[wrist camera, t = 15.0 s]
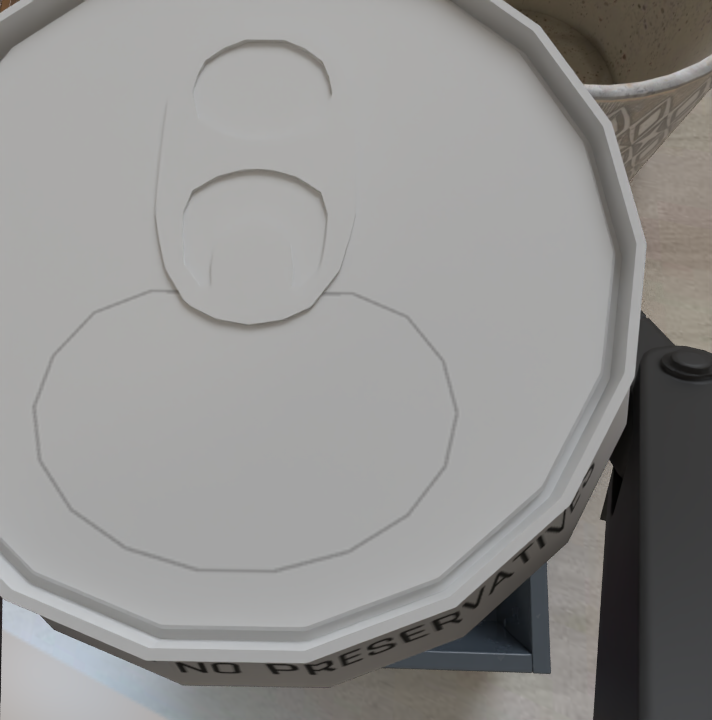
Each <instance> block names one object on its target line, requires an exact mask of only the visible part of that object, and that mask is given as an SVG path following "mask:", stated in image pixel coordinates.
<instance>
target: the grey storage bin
mask: <svg viewBox="0 0 712 720" xmlns="http://www.w3.org/2000/svg"><path fill="white" fill-rule="evenodd" d="M382 668H397V669H427V670H457V671H487V672H516V673H532V672H533V673H539V674H551V663H550V637H549V611H548V585H547V562H546V563H544V564H543V565H542V566H541V567H540V568H539V569H538V570H537V571H536V572H534V573H533V574H532V575H531V576H530V577H529V578H528V579H527V580H526V581H525V582H523V583H522V584H521V585H520V586H519V587H518V588H517V589H516V590H515V591H514V592H512V593H511V594H510V595H509V596H508V597H507V598H506V599H505V600H504V601H502V602H501V603H500V604H499V605H498V606H497V607H496V608H495V609H494V610H493V611H491V612H490V613H489V614H488V615H487V616H486V617H485V618H484V619H483V620H481V621H480V622H479V623H478V624H477V625H476V626H475V627H474V628H473V629H472V630H470V631H469V632H468V633H467V634H466V635H465V636H464V637H461V638H459V639H456V640H454V641H451V642H448V643H446V644H443V645H440V646H438V647H435V648H432V649H430V650H427V651H424V652H422V653H419V654H417V655H414V656H411V657H409V658H406V659H403V660H401V661H398V662H395V663H393V664H390V665H387V666H385V667H382Z"/></svg>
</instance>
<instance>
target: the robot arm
mask: <svg viewBox="0 0 712 720" xmlns="http://www.w3.org/2000/svg"><path fill="white" fill-rule="evenodd" d="M609 460H610V461H611V463H612V465H613V470H612V474H611V478H610V482H609V486H608V490H607V494H606V498H605V502H604V506H603V510H602V514H601V518H600V520H605V521H606V530H605V546H604V561H603V577H602V592H601V608H600V623H599V638H598V654H597V669H596V685H595V700H594V716H593V720H712V353H709V352H707V351H705V350H700V349H696V348H692V347H687V346H675V345H674V344H673V343H672V342H671V341H670V340H669V339H668V338H667V337H666V336H665V335H664V333H663V332H662V331H661V330H660V329H659V328H658V327H657V326H656V325H655V324H654V323H653V322H652V321H651V320H650V319H649V318H646V315H645V314H644V313H643V312H642V311H641V313H640V324H639V335H638V346H637V357H636V368H635V377H634V379H633V381H632V383H631V385H630V392H629V403H628V414H627V424H626V426H625V428H624V430H623V432H622V434H621V436H620V438H619V440H618V442H617V444H616V446H615V448H614V450H613V452H612V454H611V456H610V458H609ZM1 644H2V597H1V596H0V701H1V647H2V646H1Z"/></svg>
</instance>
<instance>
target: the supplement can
mask: <svg viewBox="0 0 712 720" xmlns="http://www.w3.org/2000/svg"><path fill="white" fill-rule="evenodd" d="M646 247H647V243H646V240H645V236H644V233H643V229H642V226H641V222H640V219H639V216H638V212H637V209H636V205H635V202H634V198H633V195H632V191H631V188H630V184H629V181H628V177H627V174H626V171H625V167H624V164H623V160H622V157H621V153H620V150H619V146H618V143H617V139H616V136H615V132H614V129H613V125H612V123H611V121H610V120H609V119H608V117H607V116H606V115H605V113H604V112H603V111H602V109H601V108H600V107H599V105H598V104H597V102H596V101H595V100H594V98H593V97H592V96H591V94H590V93H589V92H588V90H587V89H586V88H585V86H584V85H583V83H582V82H581V81H580V79H579V78H578V77H577V75H576V74H575V73H574V71H573V70H572V69H571V67H570V66H569V65H568V63H567V62H566V60H565V59H564V58H563V56H562V55H561V54H560V52H559V51H558V50H557V48H556V47H555V46H554V44H553V43H552V41H551V40H550V39H549V37H548V36H547V35H546V33H545V32H544V31H543V29H542V28H541V27H540V26H539V25H538V24H536V23H535V22H534V21H532V20H531V19H529V18H528V17H526V16H525V15H523V14H522V13H521V12H519V11H518V10H516V9H515V8H513V7H512V6H510V5H509V4H508V3H506V2H505V1H503V0H20V1H18V2H17V3H15V4H13V5H12V6H10V7H9V8H7V9H5V10H4V11H2V12H1V13H0V596H1V597H2V598H3V599H4V600H6V601H8V602H11V603H13V604H15V605H18V606H20V607H22V608H25V609H27V610H29V611H32V612H34V613H36V614H39V615H40V616H41V617H42V618H43V619H44V620H45V621H46V622H47V623H48V624H49V625H50V626H51V627H52V628H53V629H54V630H56V631H58V632H61V633H63V634H65V635H68V636H70V637H72V638H74V639H77V640H79V641H81V642H84V643H86V644H88V645H91V646H93V647H95V648H98V649H100V650H102V651H105V652H107V653H109V654H112V655H114V656H116V657H119V658H121V659H123V660H126V661H128V662H130V663H133V664H135V665H137V666H140V667H142V668H144V669H147V670H149V671H151V672H154V673H156V674H158V675H161V676H163V677H165V678H167V679H170V680H172V681H174V682H177V683H179V684H181V685H193V686H250V687H306V688H329V687H332V686H335V685H337V684H340V683H343V682H345V681H348V680H350V679H353V678H356V677H358V676H361V675H364V674H366V673H369V672H372V671H374V670H377V669H380V668H382V667H385V666H387V665H390V664H393V663H395V662H398V661H401V660H403V659H406V658H409V657H411V656H414V655H417V654H419V653H422V652H424V651H427V650H430V649H432V648H435V647H438V646H440V645H443V644H446V643H448V642H451V641H454V640H456V639H459V638H461V637H464V636H465V635H466V634H467V633H468V632H469V631H470V630H472V629H473V628H474V627H475V626H476V625H477V624H478V623H479V622H480V621H481V620H483V619H484V618H485V617H486V616H487V615H488V614H489V613H490V612H491V611H493V610H494V609H495V608H496V607H497V606H498V605H499V604H500V603H501V602H502V601H504V600H505V599H506V598H507V597H508V596H509V595H510V594H511V593H512V592H514V591H515V590H516V589H517V588H518V587H519V586H520V585H521V584H522V583H523V582H525V581H526V580H527V579H528V578H529V577H530V576H531V575H532V574H533V573H534V572H536V571H537V570H538V569H539V568H540V567H541V566H542V565H543V564H544V563H546V562H547V561H548V560H549V559H550V558H551V557H552V556H553V555H554V554H555V553H557V552H558V551H559V550H560V549H561V548H562V547H563V546H564V545H565V544H566V543H568V541H569V539H570V537H571V535H572V533H573V530H574V528H575V526H576V524H577V522H578V520H579V518H580V516H581V514H582V512H583V510H584V508H585V506H586V504H587V502H588V500H589V498H590V496H591V494H592V492H593V490H594V488H595V486H596V484H597V482H598V480H599V478H600V476H601V474H602V472H603V470H604V468H605V466H606V464H607V462H608V460H609V458H610V456H611V454H612V452H613V450H614V448H615V446H616V444H617V442H618V440H619V438H620V436H621V434H622V432H623V430H624V428H625V426H626V424H627V414H628V403H629V392H630V385H631V383H632V381H633V379H634V377H635V368H636V357H637V346H638V335H639V324H640V313H641V302H642V291H643V280H644V269H645V258H646Z"/></svg>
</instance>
